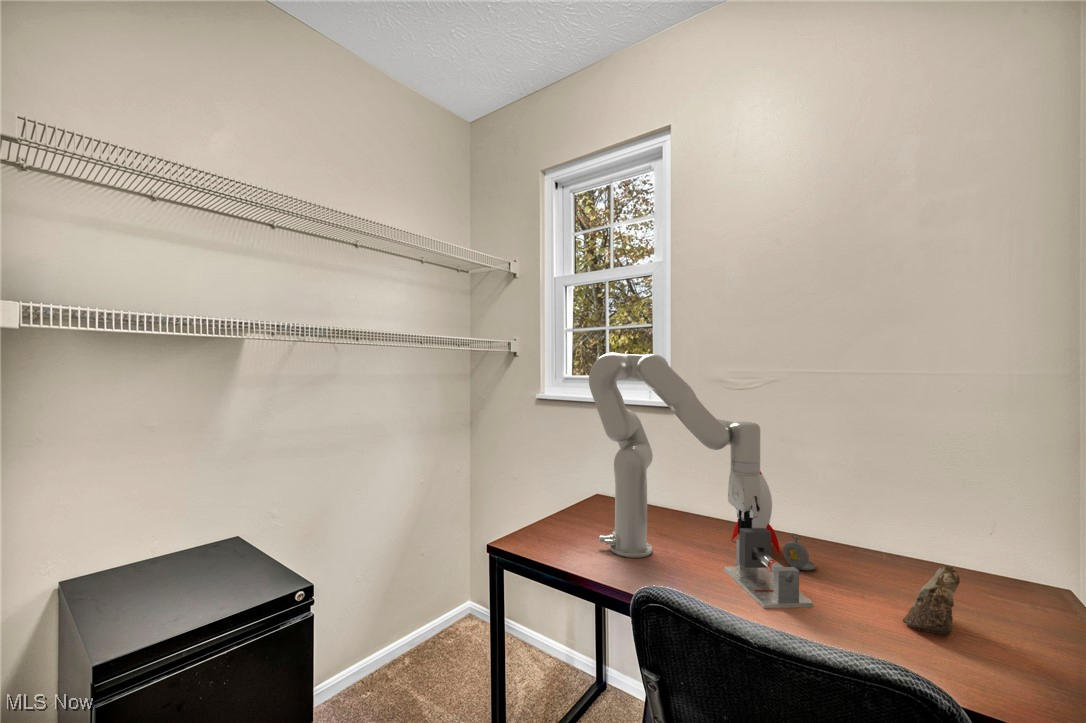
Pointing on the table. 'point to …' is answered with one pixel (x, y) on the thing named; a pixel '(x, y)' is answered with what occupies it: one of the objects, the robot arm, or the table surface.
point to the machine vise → (769, 582)
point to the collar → (753, 546)
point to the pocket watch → (797, 555)
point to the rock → (935, 603)
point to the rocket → (763, 514)
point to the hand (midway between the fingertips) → (744, 533)
